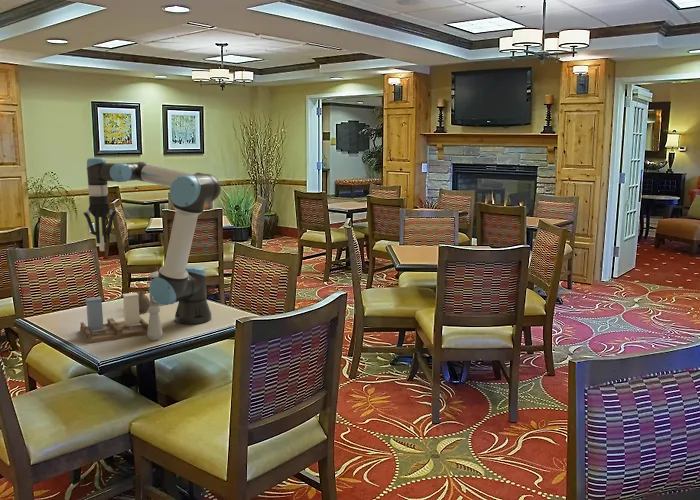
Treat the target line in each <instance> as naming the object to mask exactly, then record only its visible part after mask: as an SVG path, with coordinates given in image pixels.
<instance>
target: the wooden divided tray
mask: <svg viewBox="0 0 700 500" xmlns="http://www.w3.org/2000/svg"><path fill="white" fill-rule="evenodd" d="M139 317H140V324H134V325H128V327H127V326H126V325H125V320H123V321H116V320H115V319H114V318H113V317H110V318H107V320H106V322H107V323H103V329H100V330H93V331H91V332H90V331H89V330H88V325H86V324H85V322H83V321H81V322H80V332H81V334H82V335H83V337H84V338H85V340H86V342H87V343H88V344H92V343H98V342H105V341H113V340H117V339H124V338H130V337H137V336H142V335H143V336H144V335H147V331H148V325H149V323H148V322H147V321H145V320H144V319H143V318H142V317H141V316H140V315H139Z"/></svg>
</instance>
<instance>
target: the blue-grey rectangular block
mask: <svg viewBox="0 0 700 500" xmlns="http://www.w3.org/2000/svg"><path fill="white" fill-rule="evenodd" d="M102 302H103V298H102V297H101V296H97V297H87V298H86V297H85V304H86V316H87V318H86V319H87V326H88V330H89V331H90V332H91V331H93V330H100V329H103V324H104V316H103V303H102Z"/></svg>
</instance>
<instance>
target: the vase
mask: <svg viewBox="0 0 700 500" xmlns="http://www.w3.org/2000/svg"><path fill="white" fill-rule="evenodd" d="M137 294H139V297H138V299H139V314H143V313H147V312H148V308H149V307H150V298H149V297H148V296H147V295H146V294H145V292H143V291H140V292H137Z"/></svg>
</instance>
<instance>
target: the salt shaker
mask: <svg viewBox="0 0 700 500" xmlns="http://www.w3.org/2000/svg"><path fill="white" fill-rule="evenodd" d="M160 311H161V309H160V306H150V307H149V308H148V311H147V312H148V313H149V317H148V324H149V325H148V331H147V334H146V335H147V337H148V339H149V340H150V341H152V342H154V341H159V340H161V339H162V337H163V335H164V334H163V332H164V331H163V328H162V323H161V319H160V315H159V313H160Z"/></svg>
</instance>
